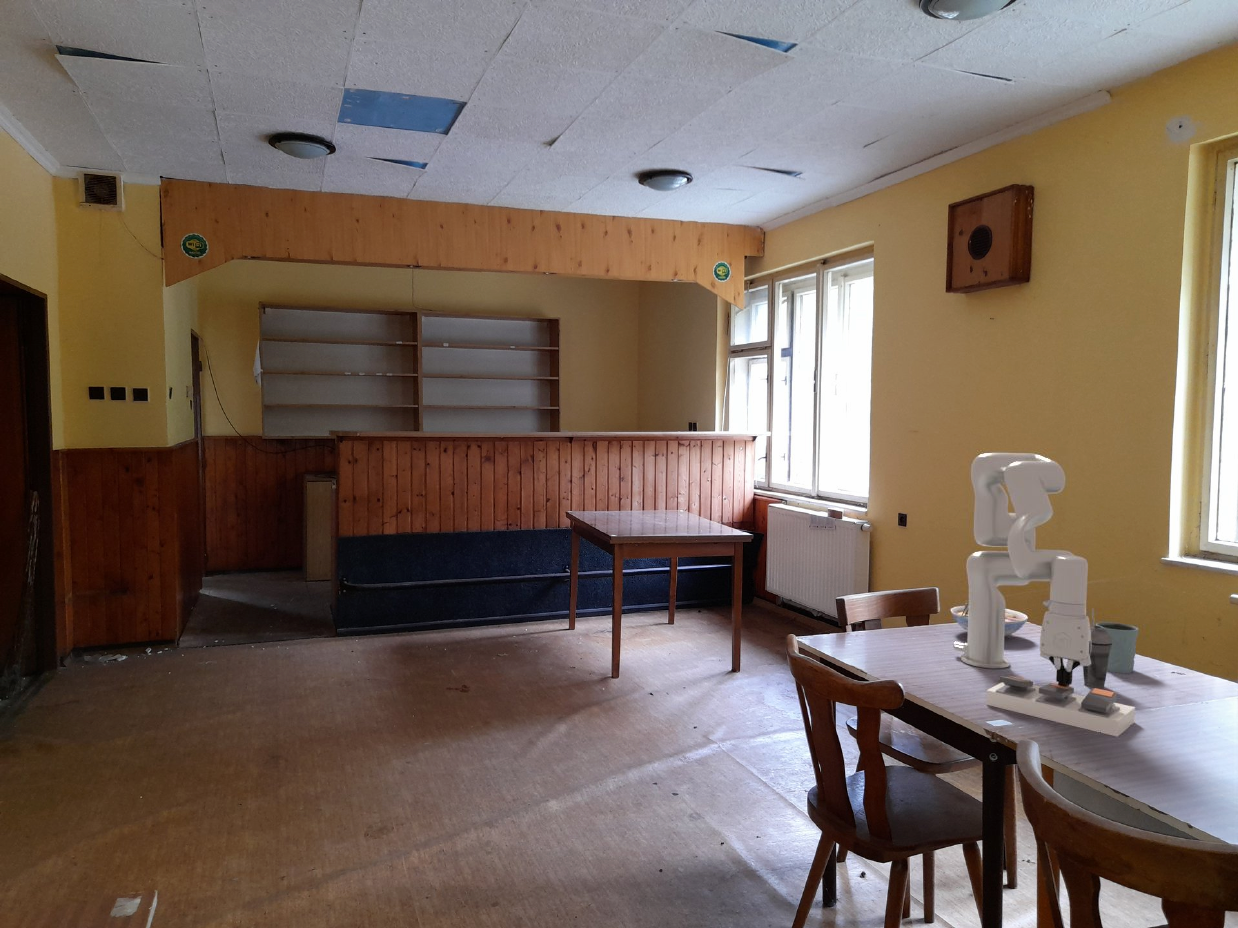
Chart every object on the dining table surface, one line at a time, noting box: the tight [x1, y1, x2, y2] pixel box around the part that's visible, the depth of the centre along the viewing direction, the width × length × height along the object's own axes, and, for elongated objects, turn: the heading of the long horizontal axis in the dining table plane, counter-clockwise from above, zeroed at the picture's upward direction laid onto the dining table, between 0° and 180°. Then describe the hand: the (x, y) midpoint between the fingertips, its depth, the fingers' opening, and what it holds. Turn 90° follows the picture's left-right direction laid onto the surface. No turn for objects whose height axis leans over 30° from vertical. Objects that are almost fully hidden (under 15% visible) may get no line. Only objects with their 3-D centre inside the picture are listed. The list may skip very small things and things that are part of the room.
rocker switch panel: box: [985, 682, 1136, 738], centre depth 196 cm, size 28×13×4 cm, turn 45°
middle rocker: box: [1039, 682, 1075, 699], centre depth 195 cm, size 5×8×2 cm, turn 135°
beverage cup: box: [1082, 608, 1112, 689], centre depth 218 cm, size 7×7×20 cm
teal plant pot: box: [1095, 621, 1139, 674], centre depth 234 cm, size 10×10×12 cm
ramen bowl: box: [950, 600, 1029, 637], centre depth 269 cm, size 25×23×8 cm
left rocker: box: [998, 676, 1034, 690], centre depth 201 cm, size 5×8×2 cm, turn 135°
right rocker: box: [1081, 688, 1118, 713], centre depth 188 cm, size 5×8×2 cm, turn 135°
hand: (1063, 685), depth 198 cm, fingers closed
